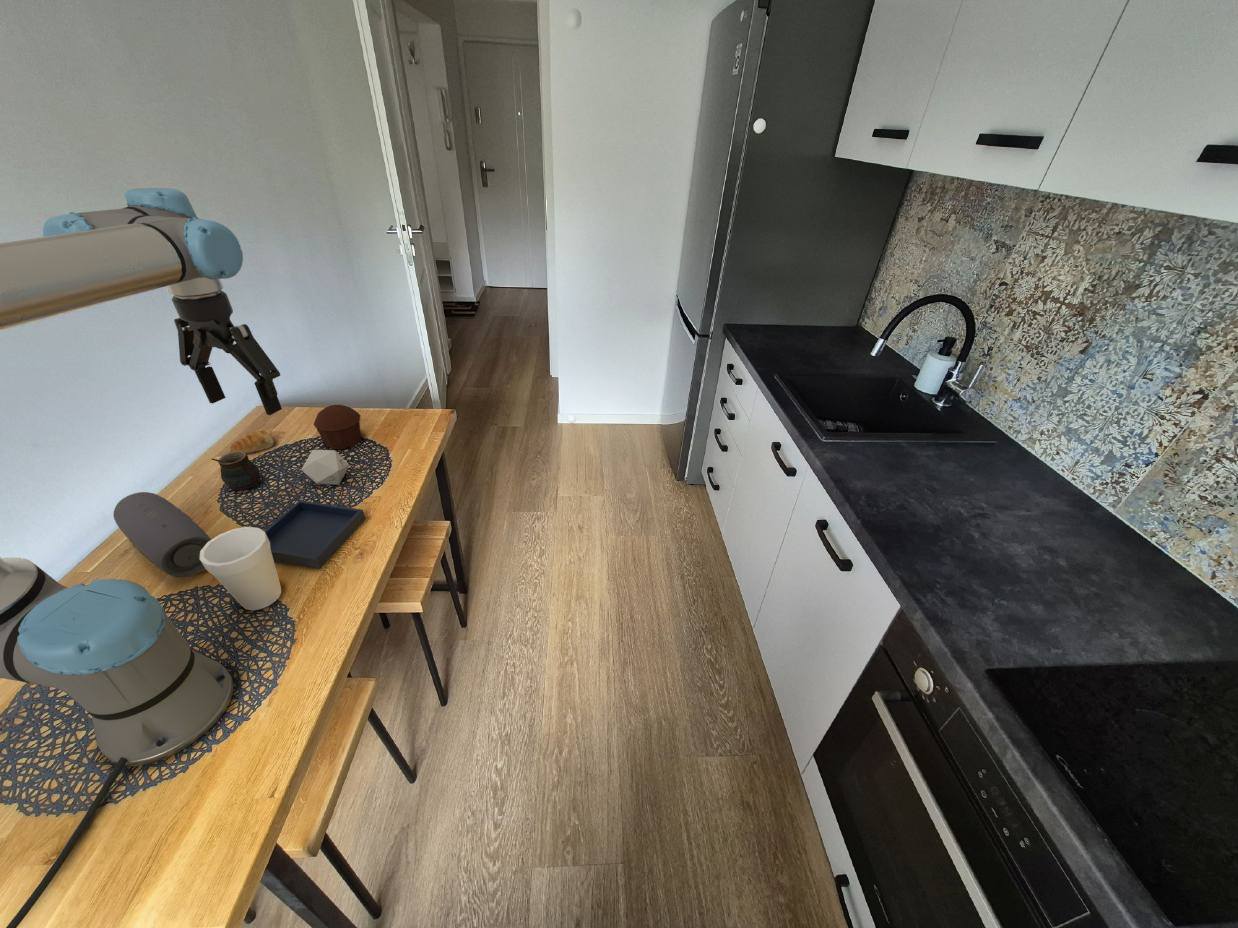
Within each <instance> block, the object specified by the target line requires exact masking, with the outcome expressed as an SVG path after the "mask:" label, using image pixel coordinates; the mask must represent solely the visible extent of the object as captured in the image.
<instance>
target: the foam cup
mask: <svg viewBox="0 0 1238 928" xmlns="http://www.w3.org/2000/svg"><path fill="white" fill-rule="evenodd" d="M264 531H265V530H263V529H261V528H260V527H254V526H244V527H236V528H233V529H230V530H228V531H227V530H226V531H225V532H222V533H219V534H218V535H216V536H215V537H213V538H211V540H210V541H209V542H207V544H206V545H205V546H204V547H203V548H202V550H201V551H200V561H201V562H202V564H203V566H204V567H205V569H204V570H206V571H207V572H208V573H209V574H211V575H212V576H213V577H214V578H215V579H216V580H217V581H218V582H219V583H220V584H221V586H222V587H224V588H225V590H226V591H227V592H228V593H229V594H230V596H232V597H233V598H234V599H235V600H236V602H238V604H239V605H240V606H241V607H242V608H243V609H245V610H247V611H258V610H262V609H264V608H267V607H269V606H271V605H273V604H274V603H275V602H276V601H277V600H279V598H280V596H281V594H282V587H281V583H280V579H279V578H280V577H279V574H278V571H277V567H276V564H275V561H274V560H273V556H272V553H271V549H270V541H269V539H268V537H267V535H266V533H265V532H264Z"/></svg>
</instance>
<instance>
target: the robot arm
mask: <svg viewBox="0 0 1238 928" xmlns="http://www.w3.org/2000/svg"><path fill="white" fill-rule="evenodd" d="M124 198H125V201H126V207H122V208H113V209H102V210H94V211H83V212H75V211H70V212H69V213H68V214H62V215H61V214H60V215H56V216H51V217H49V218H48V219H46V220H45V222H44V224H43V226H42V235H43V236H40V237H33V238H27V239H26V238H25V239H19V240H14V241H13V240H12V241H6V242H0V333H1V332H5V331H9V330H12V329H17V328H19V327H23V326H26V325H31V324H34V323H39V322H42V321H45V320H48V319H52V318H56V317H59V316H63V315H67V314H70V313H74V312H78V311H81V310H85V309H88V308H93V307H96V306H100V305H103V304H106V303H110V302H114V301H118V300H122V299H124V298H129V297H132V296H136V295H139V294H143V293H147V292H150V291H153V290H154V291H155V290H158V289H161V288H165V289H166V291H167V294H169V295H170V296H172V298H171V302H172V304H173V306H174V308H175V310H176V313H177V315H178V317H177V318H174V319H173V322H174V324H175V328H176V330H177V339H178V353H179V362H180V365H182V366H184V367H186V366H188V367H189V368H190V370H191V371H193V372H194V373H195V375H196V377H197V379H198V382H199V383H200V385H201V387H202V390H203V391H204V394H205V395H206V398H207V400H208V402H209V404H212V405H213V404H216V403H218V402H220V401H222V400H224V399H226V398H227V397H226V395H225V393H224V391H223V388H222V386H221V384H220V382H219V379H218V377H217V375H216V373H215V370H214V368H213V366H210V365H211V363H210V361H209V360H210V357H211V354H212V351H213V348H216V349H218V350H222V351H223V352H224V353H226V354H230V355H231V356H232V357H233V358H234V359H235V360H236V361H237V362H238V363H239V364H240V365H241V366H242V368H244V369H245V370H246V371H247V372H248V373H249V375H251V376H252V377H253V379H254V380H256V381H255V382H253V383H254V385H255V389H256V391H257V394H258V396H259V398H260V401H261V404H262V406H263V409H264V411H265V414H266V415H267V416H272V415H273V414H276V413H277V412H279V411H281V410H283V408H282V405H281V402H280V400H279V397H278V391H277V388H276V386H275V383H274V379H277V378H279V377H280V376H281V372H280V371H279V369H278V368H277V367H276V366H275V364H274V363H273V361H272V360H271V359H270V357H269V356H268V354H267V353H266V352H265V350H264V349H263V347H261V345H260V344H259V342H258V341H257V340H256V338H255V337H254V335H253V334H252V333H253V332H252V331H251V328H250V327H249V326H248V324H246V323H244V324H241V325H240V324H239V325H234V323H233V322H232V320H231V316H232V314H233V313H234V309H233V306H232V304H231V301H230V299H229V296H228V294H227V293H226V292H225V291H223V289H224V285H223V282H222V280H225V279H231V278H233V277H235V276H236V275H237V274H238V273H239V272H240V270H241V269H242V267H243V264H244V263H243V262H244V254H243V253H244V252H243V250H242V248H241V244H240V241H239V239H238V238H237V236H236V235H235V234H234V232H233V231H232V230H231V229H230V228H229V227H227V226H226V225H224V224H222V223H220V222H218V221H216V220H210V219H204V218H200V217H198V216H197V214H196V212H195V210H194V207H193V206H192V203H191V201H190V200H189V197H188V196H187V194H185V192H184V191H181V190H180V189H176V188H169V187H168V188H167V187H142V188H132V189H127V190H125V192H124ZM221 279H222V280H221ZM0 679H5V680H10V681H15V682H23V683H25V684H32V685H37V686H42V687H47V688H53V689H56V690H60V691H62V692H64V693H65V694H67V695H68V696H69V697H71V699H73V700H74V702H76V703H77V704H78V705H79V706H80V707H81V708H82V709H83V710H85V711H86V712H87V713H88V714H89V715H90V716H91V720H92V726H93V730H94V735H95V741H96V745H97V747H98V749H99V751H100V752H101V754H102V755H103V756H104V757H105V758H107V760H109V761H110V762H112V763H113V764H115V766H114V767H113V769H112V771H111V772H110V774H109V775H108V777H107V778H106V780H105V782H104V783H103V785H102V787H101V789H100V790H99V792H98V793H97V795H96V797H95V798H94V800H93V801H92V803H91V805H90V806H89V807H88V810H87V811H86V813H85V815H84V817H82V820H81V821H80V823H79V824H78V826H77V827H76V828H75V830H74V831H73V833H72V834H71V836H70V838H69V839H68V841H67V842H66V844H65V846H64V847H63V848H62V850H61V852H60V853H59V855H58V856H57V858H56V859H55V861H53V862H54V863H53V864H52V865H51V867H50V868H49V870H47V872H46V874H45V875H44V876H43V878H42V879H41V880H40V882H39V883H38V885H37V886H36V887H35V888H34V890H33V892H32V893H31V894H30V895H29V896H28V898H27V899H26V900H25V902H24V904H23V905H22V907H20V908H19V910H18V912H17V913H16V914H15V915H14V916H13V918H12V919H11V920H10V922H9V923H8V924H7V926H6V927H5V928H18V926H19V925H20V924H21V922H22V921H23V920H24V919H25V918H26V916H27V915H28V914H29V912H30V911H31V910H32V908H33V907H34V906H35V904H36V903H37V902H38V901H39V899H40V898H41V896H42V895H43V893H44V892H45V891H46V889H47V888H48V886H49V885H50V884H51V882H52V881H53V879H54V878H55V876H56V875H57V874H58V872H59V871H60V870H61V868H62V866H63V865H64V863H65V862H66V860H67V859H68V857H69V856H70V854H71V852H72V851H73V849H74V848H75V846H76V845H77V844H78V841H79V840H80V838H81V837H82V836H83V834H84V832H85V831H86V829H87V827H88V826H89V824H91V823H90V822H91V821H92V820H93V818H94V816H95V815H96V813H97V811H98V810H99V808H100V807H101V805H102V803H103V802H104V799H105V798H106V796H107V794H108V793H109V791H110V789H111V788H112V786H113V785H114V783H115V781H116V779H117V778H118V776H119V774H120V773H121V771H122V770H123V768H124V767H141V766H147V765H151V764H154V763H157V762H160V761H163V760H165V759H168V758H170V757H172V756H174V755H176V754H178V753H180V752H181V751H183V750H185V749H186V748H188V747H190V746H191V745H193V744H194V743H195V742H197V741H198V740H199V739H200V738H202V737H203V736H205V734H206V733H208V732H209V731H210V730H211V729H212V728H213V727H214V726H215V724H217V723H218V722H219V720H220V719H221V717H222V716H223V715H224V714H225V712H226V710H227V709H228V707H229V706H230V703H231V701H232V698H233V695H234V691H235V689H234V688H235V684H234V679H233V677H232V675H231V673H230V672H229V671H228V669H227V668H226V667H225V666H224V665H223V664H221V663H220V662H219V661H217V660H216V659H215V660H214V659H213V658H210V657H208V656H206V655H204V654H202V653H199V652H197V651H195V650H193V649H192V648H191V646H190V645H189V644H188V642H187V640H186V639H185V638H184V636H183V635H182V633H181V632H180V631H179V629H178V628H177V627H176V625H175V624H174V623H173V621H172V620H171V618H170V617H169V615H168V614H167V613H166V611H165V609H164V607H163V605H162V604H161V603H160V601H159V600H158V599H157V598H156V597H155V596H154V595H152V594H151V593H150V592H149V591H148V590H147V589H146V588H145V587H143V586H142V585H141V584H138V583H136V582H133V581H131V580H127V579H120V578H103V579H96V580H95V579H94V580H92V581H91V582H90V583H89V584H85V583H78V584H75V585H72V586H69V587H68V586H65V585H63V584H61V583H60V582H59V581H57V580H56V579H54V578H53V577H52V576H50V574H48V573H47V572H46V571H45V570H44V569H42V568H40V567H39V566H38V565H36V564H35V563H34V562H33V561H32V560H29V559H27V558H25V557H17V556H16V557H14V556H11V557H0Z"/></svg>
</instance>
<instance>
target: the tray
mask: <svg viewBox="0 0 1238 928" xmlns="http://www.w3.org/2000/svg"><path fill="white" fill-rule="evenodd" d="M365 520H366V515H365V512H364V509H362V508H361V509H360V508H354V507H347V506H340V505H335V504H327V503H321V502H315V501H308V500H302V499H299V500H297V502H295V503H294V504H293V505H292V506H291V507H290V508H289V509H287V510H286V511H285V512H284V513H283V514H282V515H280V516H279V517H278V518H277V519H276V520H275V521H273V523H271V524H270V525H269V526H268V527H267V528H266V529H264V530H263V531H264V532H265V533H266V535H267V537H268V539H269V541H270V549H271V553H272V556H273V560H274V562H278V563H284V564H289V565H290V564H291V565H296V566H302V567H308V568H314V569H321V568H322V567H323V566H325V564H326V563H327V561H329V560H330V558H331V557H332V556H333V555H334V554H335V553H336V552H337V551H338V550H339V548H340V547H341V546H342V545H343V544H344V543H345V542H346V541H347V540H348V538H350V536H352V534H353V533H354V532H355V531H356V530H357V528H359V527H360V525H361V524H363V522H364V521H365Z"/></svg>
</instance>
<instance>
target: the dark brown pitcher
mask: <svg viewBox="0 0 1238 928" xmlns="http://www.w3.org/2000/svg"><path fill="white" fill-rule="evenodd" d="M211 460H212V461H215V462H218V464H219V466H220V478H221V481H222V482H223V483H224V484H225V485H226V486H227V487H228V488H229V489H232V490H235V491H245V490H248V489H251V488H254V487H255V486H257V485H258V483H259V481H260V478H261V475H260V469H259V468H258V466H257V465H256V464H255V463H254V462H252V461H251V460H250V459H249V456H248V453H247V454H246V453H245V452H243V451H234V452H231V451H230V452H227V453H225V454H223V455H221V456H220V457H219V458H218V459H217V458H211Z"/></svg>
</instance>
